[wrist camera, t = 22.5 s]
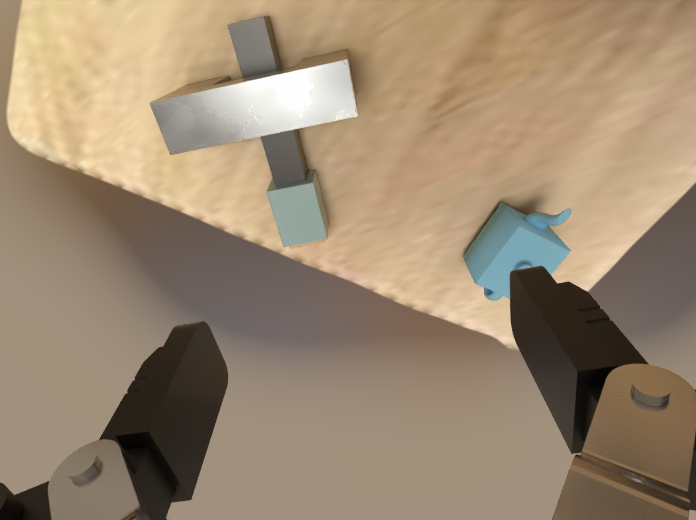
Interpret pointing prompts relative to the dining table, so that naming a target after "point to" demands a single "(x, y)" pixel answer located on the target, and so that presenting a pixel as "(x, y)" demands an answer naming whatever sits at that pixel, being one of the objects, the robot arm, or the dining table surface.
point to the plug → (282, 147)
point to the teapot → (514, 248)
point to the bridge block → (257, 104)
